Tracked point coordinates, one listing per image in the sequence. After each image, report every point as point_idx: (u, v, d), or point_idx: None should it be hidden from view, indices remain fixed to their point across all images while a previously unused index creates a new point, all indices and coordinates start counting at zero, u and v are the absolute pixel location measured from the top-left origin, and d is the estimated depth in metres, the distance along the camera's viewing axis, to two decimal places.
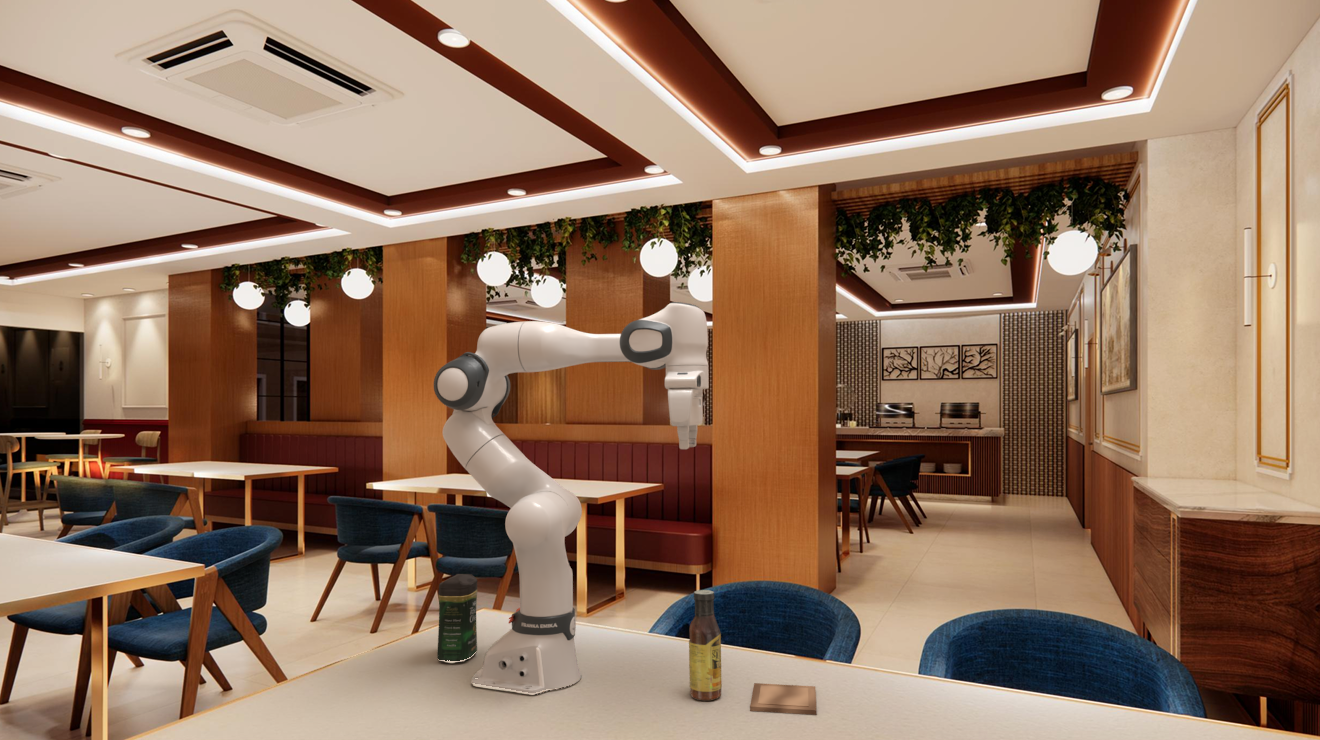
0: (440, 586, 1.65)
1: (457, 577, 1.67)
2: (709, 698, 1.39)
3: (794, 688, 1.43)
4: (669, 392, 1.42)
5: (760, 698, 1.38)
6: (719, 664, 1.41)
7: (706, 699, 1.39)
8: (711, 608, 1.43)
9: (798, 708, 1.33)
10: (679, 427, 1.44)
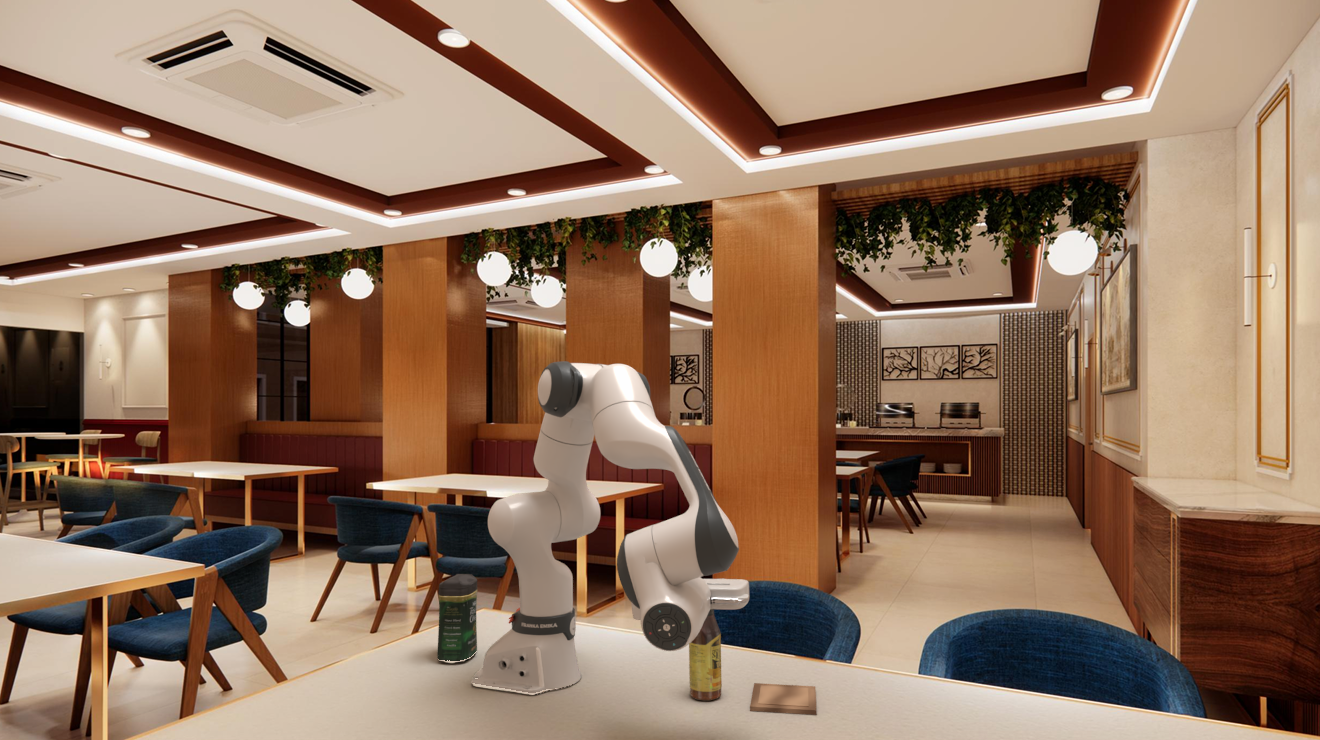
0: (440, 586, 1.65)
1: (457, 577, 1.67)
2: (709, 698, 1.39)
3: (794, 688, 1.43)
4: None
5: (760, 698, 1.38)
6: (719, 664, 1.41)
7: (706, 699, 1.39)
8: None
9: (798, 708, 1.33)
10: None
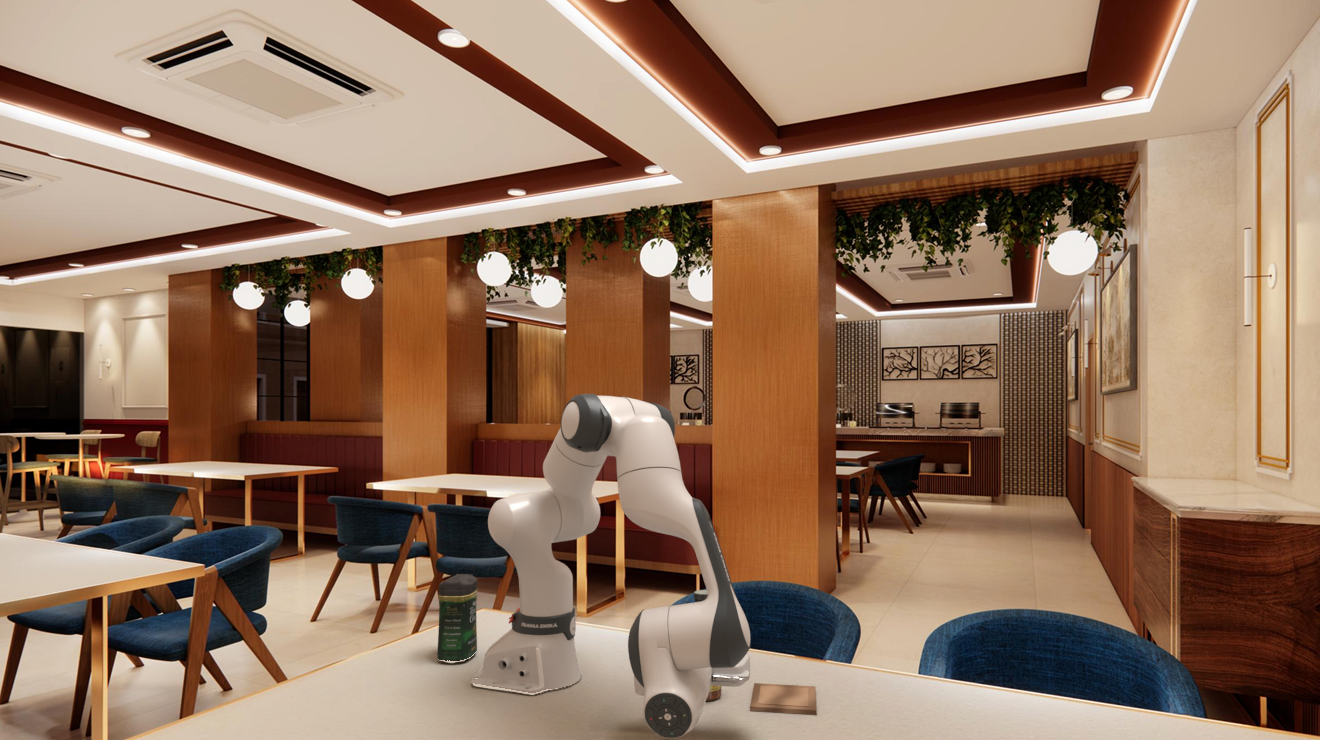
0: (440, 586, 1.65)
1: (457, 577, 1.67)
2: (709, 698, 1.39)
3: (794, 688, 1.43)
4: None
5: (760, 698, 1.38)
6: None
7: (706, 699, 1.39)
8: None
9: (798, 708, 1.33)
10: None
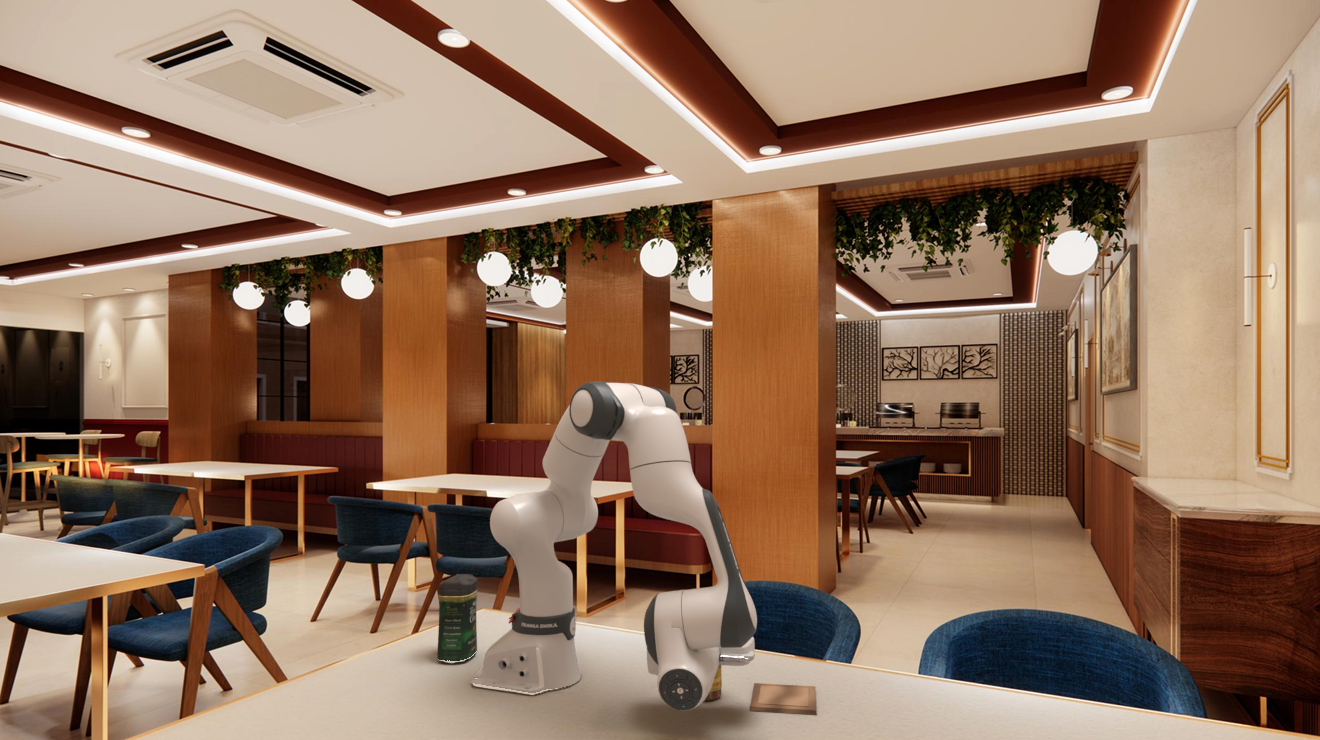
0: (440, 586, 1.65)
1: (457, 577, 1.67)
2: (709, 698, 1.39)
3: (794, 688, 1.43)
4: None
5: (760, 698, 1.38)
6: None
7: (706, 699, 1.39)
8: None
9: (798, 708, 1.33)
10: None
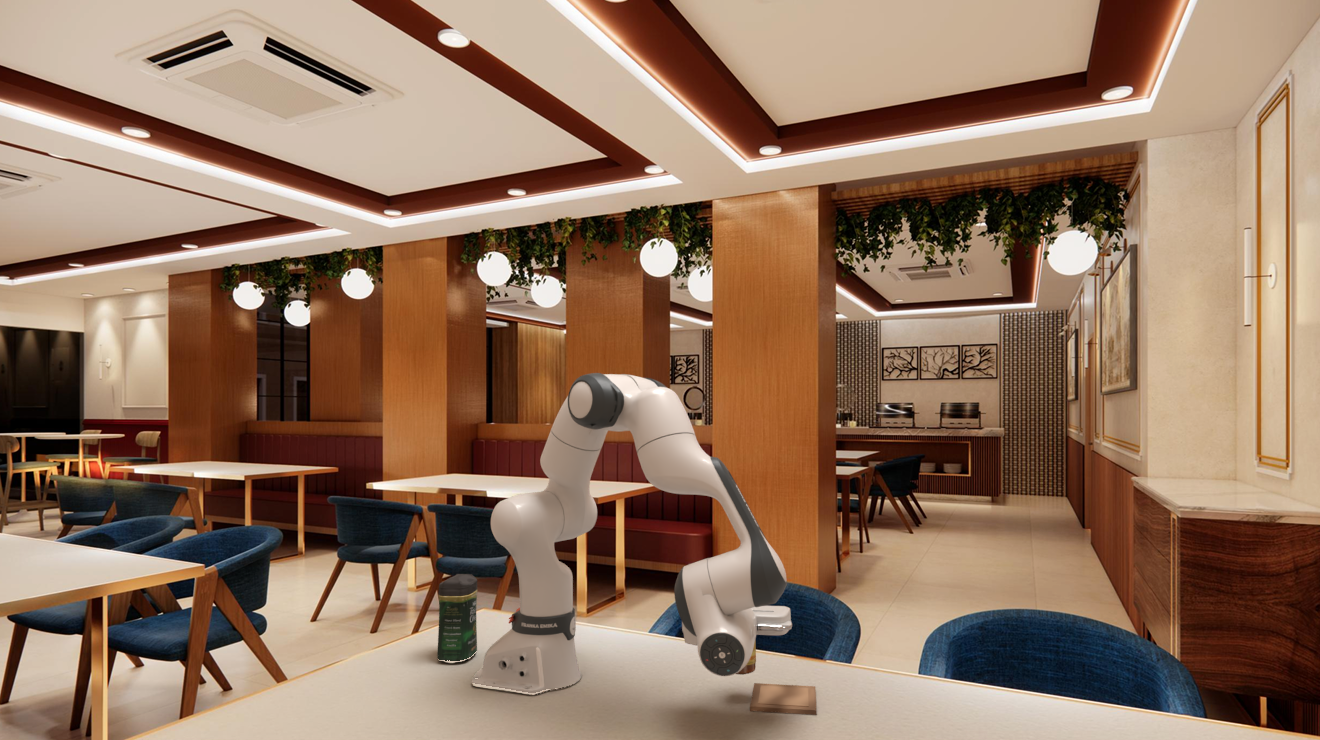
0: (440, 586, 1.65)
1: (457, 577, 1.67)
2: (744, 672, 1.38)
3: (794, 688, 1.43)
4: None
5: (760, 698, 1.38)
6: None
7: (741, 673, 1.38)
8: None
9: (798, 708, 1.33)
10: None
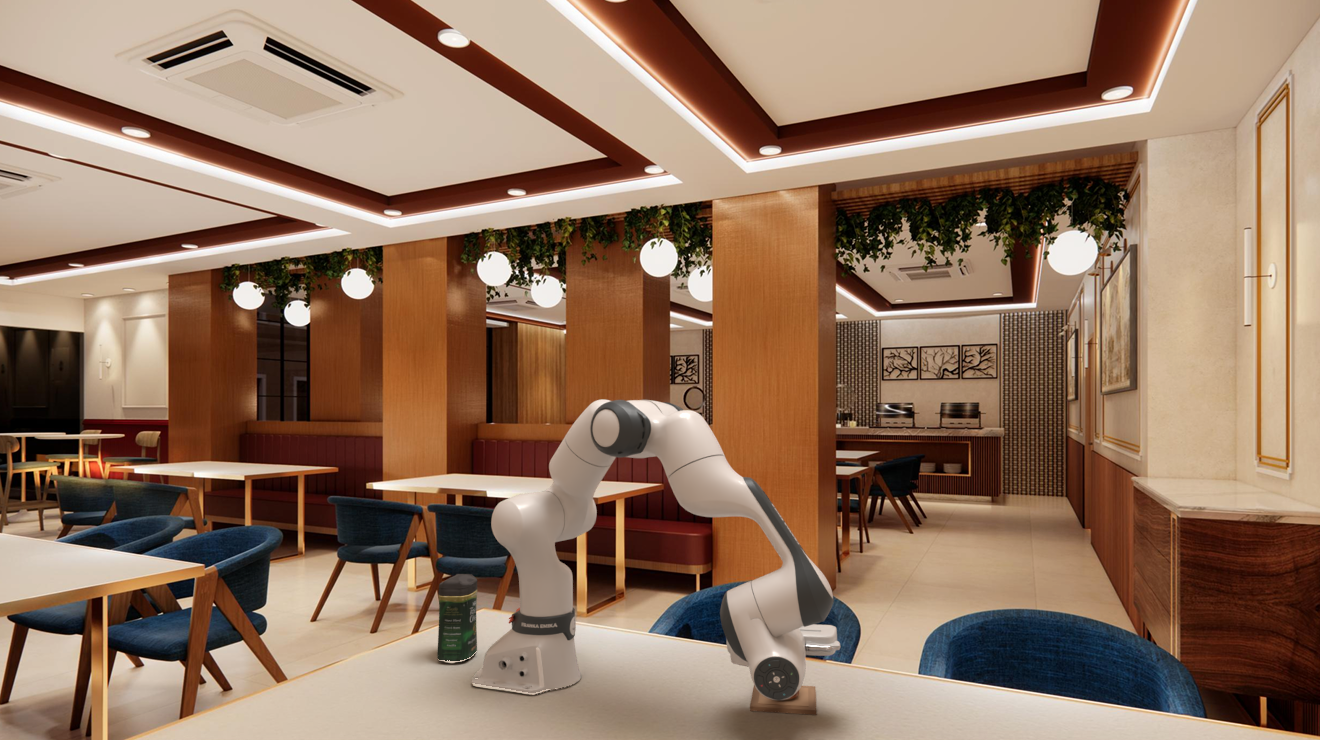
0: (440, 586, 1.65)
1: (457, 577, 1.67)
2: (788, 698, 1.36)
3: None
4: None
5: (760, 698, 1.38)
6: None
7: (785, 699, 1.36)
8: None
9: (798, 708, 1.33)
10: None
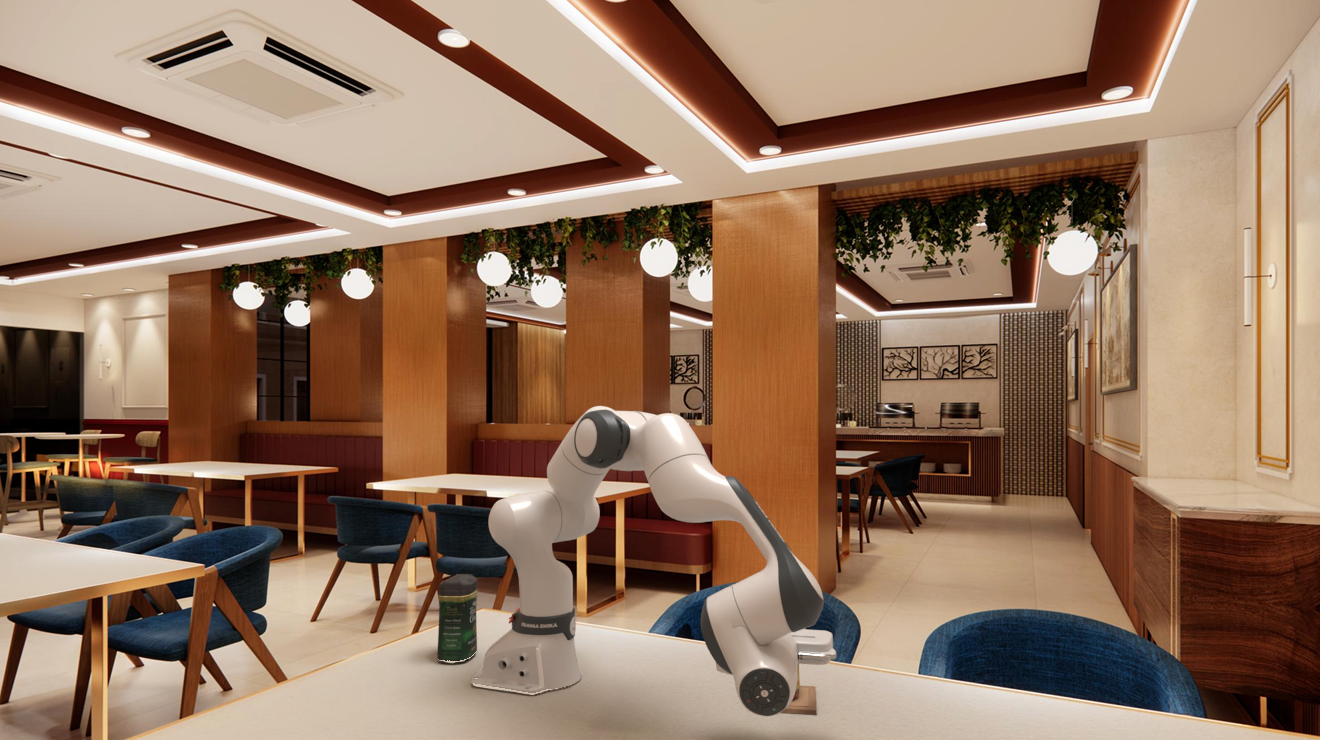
0: (440, 586, 1.65)
1: (457, 577, 1.67)
2: None
3: None
4: None
5: None
6: None
7: None
8: None
9: (798, 708, 1.33)
10: None
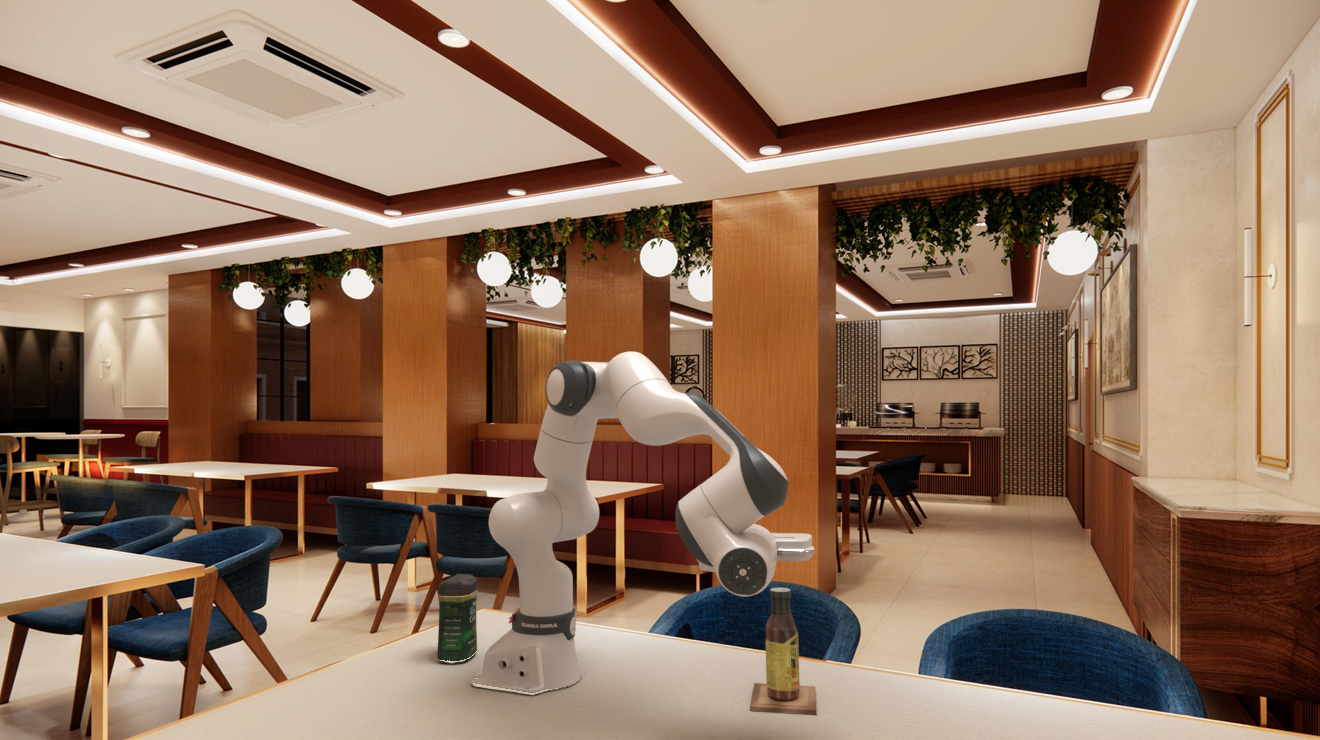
0: (440, 586, 1.65)
1: (457, 577, 1.67)
2: (788, 698, 1.36)
3: None
4: None
5: (760, 698, 1.38)
6: (797, 663, 1.38)
7: (785, 699, 1.36)
8: (788, 606, 1.40)
9: (798, 708, 1.33)
10: None
